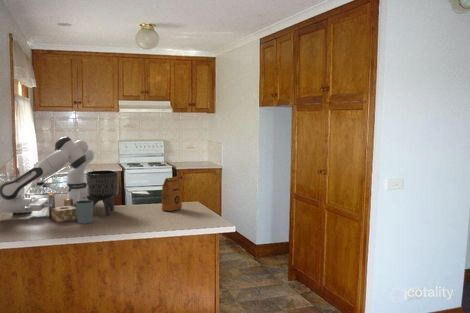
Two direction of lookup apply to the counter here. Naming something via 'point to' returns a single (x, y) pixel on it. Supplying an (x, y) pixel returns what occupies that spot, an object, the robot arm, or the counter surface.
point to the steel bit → (52, 200)
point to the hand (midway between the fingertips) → (53, 204)
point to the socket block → (64, 214)
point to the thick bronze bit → (69, 202)
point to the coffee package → (171, 195)
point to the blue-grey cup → (84, 211)
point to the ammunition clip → (22, 212)
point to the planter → (103, 188)
